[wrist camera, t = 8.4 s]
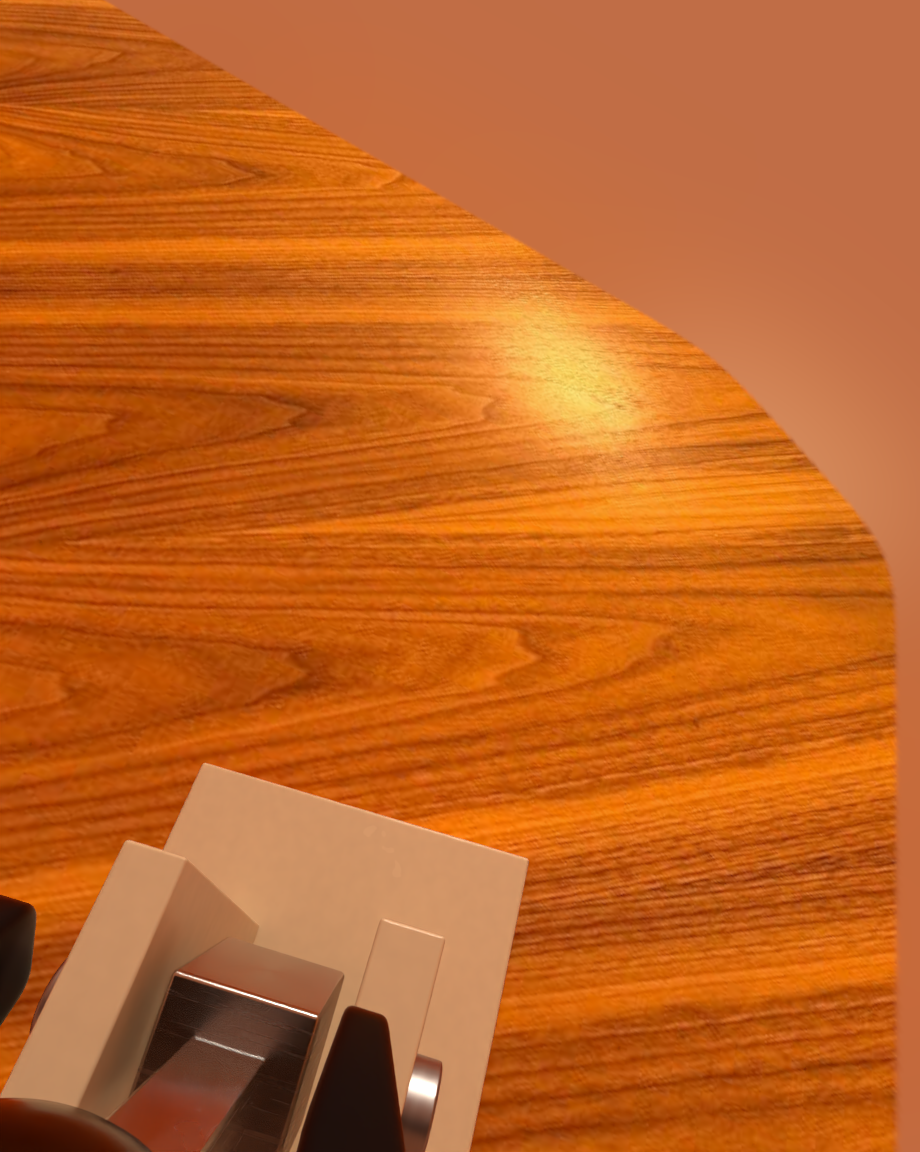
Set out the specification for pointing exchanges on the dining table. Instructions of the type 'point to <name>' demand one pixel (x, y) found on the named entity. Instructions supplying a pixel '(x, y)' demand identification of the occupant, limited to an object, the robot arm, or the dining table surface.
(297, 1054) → the lever
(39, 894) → the dining table surface
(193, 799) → the bracket
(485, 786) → the dining table surface
